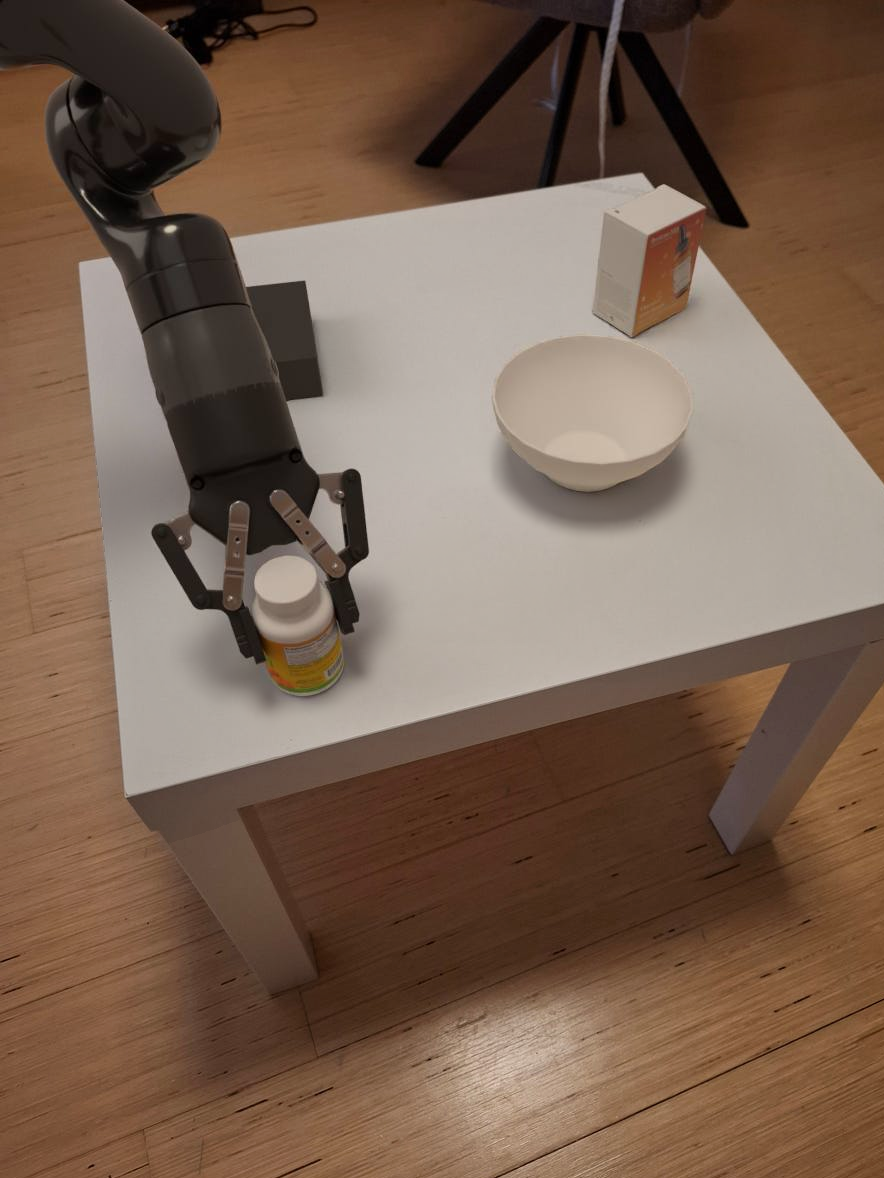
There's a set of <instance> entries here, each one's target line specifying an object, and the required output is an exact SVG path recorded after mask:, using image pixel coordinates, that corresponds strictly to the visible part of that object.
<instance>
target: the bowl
mask: <svg viewBox="0 0 884 1178" xmlns="http://www.w3.org/2000/svg"><path fill="white" fill-rule="evenodd" d="M491 401H492V407H493V408H492V409H493V412H494V416H495V421H496V424H497V426H498V429H499V430H500V432H501V434H502V436H503V437H504V439H505V440H506V442H507V443H508V444H509V446H510V447H511V449H512V450H513V451H514V453H516V454H517V456H519V457H520V458H521V459H522V460H524V461H525V462H526V463H527V464H528V465H530V466H531V467H532V468H533V469H535V470H536V471H538V472H540V473H542V474H544V475H546V477H547V478H548V479H549V480H551V481H552V482H553V483H554V484H556V485H559V486H561V487H563V488H565V489H567V490H568V489H569V490H572V491H576V492H584V493H585V492H587V493H591V492H601V491H603V490H606V489H610V488H613V487H614V486H616V485H617V484H620V483H622V482H625V481H627V480H631V479H634V478H637V477H638V476H641V475H644V474H645V473H646V472H648V471H650V470H651V469H653V468H655V467H656V466H659V464H660V463H662V462H664V460H666V458H667V457H668V456H669V455H670V454H671V453H672V452H673V451H674V450H675V448H676V447H677V446H678V445H679V444H680V442H681V441H682V440H683V439H684V437H685V435H686V432H687V430H688V427H689V424H690V422H691V419H692V416H693V414H694V412H695V411H694V393H693V391H692V389H691V387H690V384H689V382H688V380H687V377H686V376H685V375H684V374H683V373H682V372H681V370H679V368H678V367H677V366H676V365H675V364H674V363H673V362H672V361H670V360H669V359H667V358H666V357H664V356H663V355H662V354H660V353H659V352H657V351H656V350H654V349H651V348H650V347H646V346H644V345H642V344H640V343H638V342H635V341H632V340H628V339H623V338H619V337H615V336H611V335H602V334H600V335H598V334H586V333H582V334H572V335H562V336H557V337H553V338H549V339H545V340H542V341H538V342H536V343H533V344H532V345H530V346H527V347H526V348H523V349H522V350H520V351H518V352H517V353H515V354H514V355H513V356H512V357H510V359H509V360H508V361H506V362H505V363H504V364H503V365H502V367H501V368H500V370H499V371H498V373H497V375H496V377H495V379H494V380H493V387H492V392H491Z"/></svg>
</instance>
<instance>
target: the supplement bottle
mask: <svg viewBox="0 0 884 1178" xmlns="http://www.w3.org/2000/svg"><path fill="white" fill-rule="evenodd" d="M318 577H319V576H318V572H317V570H316V568H315V566H314V565H313V564H312V563H311V562H310V561H308V560H307V559H306V558H303V557H301V556H297V555H281V556H277V557H274V558H272V559H269V560H267V561H266V562H265V563H264V564H262V565H261V566H260V568H258V570H257V572H256V573H255V575H254V580H253V587H254V592H255V595H254V598H253V599H252V603H251V607H250V608H251V609H250V613H251V616H252V619H253V622H254V625H255V628H256V631H257V634H258V637H259V640H260V643H261V646H262V649H263V652H264V655H265V658H266V661H267V662H264V663H265V666H266V669H267V672H268V676H269V678H270V680H271V681H272V683H273V684H274V685H275V687H276V688H278V689H279V690H280V691H282V692H284V693H286V694H289V695H291V696H296V697H308V696H314V695H317V694H319V693H323V692H324V691H326V690H328V689H329V688H331V687H332V686H333V685H335V683H336V682H338V680H339V678H340V677H341V675H342V672H343V671H344V670H343V669H344V667H345V666H344V665H345V656H344V651H343V646H342V640H341V635H340V629H339V625H338V622H337V619H336V614H335V608H334V603H333V599H332V596H331V594H330V592H329V590H328V589H327V587H326V585H325V583H323V582H322V581H321V580H319V578H318Z"/></svg>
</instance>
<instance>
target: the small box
mask: <svg viewBox="0 0 884 1178" xmlns="http://www.w3.org/2000/svg"><path fill="white" fill-rule="evenodd" d="M706 214H707V207H706V206H705V205H704V204H702V203H700V202H698V201H696V200H695V199H692V198H691V197H689V196H688V195H685V194H684V193H681V192H680V191H678V190H676V189H674V188H672V187H671V186H669V185H667V184H663V183H662V184H661V185H658V186H657V187H656V188H654V189H652V190H650V191H647V192H646V193H643V194H641V195H639V196H637V197H634V198H633V199H630V200H628V201H626V202H624V203H622V204H619V205H616V206H615V207H612V208H609V209H606V210H604V211H603V219H602V225H601V226H602V227H601V234H600V235H601V236H600V245H599V253H598V263H597V270H596V271H597V272H596V277H595V279H596V280H595V288H594V296H593V305H592V313H593V314H595V315H596V316H598V317H599V318H601V319H602V320H604V321H605V322H607V323H609V324H610V325H612V326H613V327H615V328H617V329H618V330H619V331H621V332H623V333H625V334H626V335H627V336H629V337H630V338H633V337H635V336H637V335H638V334H640V333H642V332H643V331H645V330H647V329H649V328H650V327H652V326H654V325H656V324H658V323H660V322H662V321H664V320H666V319H668V318H670V317H671V316H674V315H676V314H677V313H680V312H682V311H684V310H685V309H686V308H687V305H688V301H689V297H690V291H691V287H692V281H693V278H694V277H693V276H694V271H695V267H696V261H697V256H698V252H699V248H700V243H701V242H700V241H701V237H702V233H703V229H704V222H705V218H706Z"/></svg>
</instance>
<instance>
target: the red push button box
mask: <svg viewBox="0 0 884 1178" xmlns="http://www.w3.org/2000/svg"><path fill="white" fill-rule="evenodd" d="M246 289H247V292H248V296H249V299H250V302H251V305H252V309H253V311H254V314H255V316H256V319H257V321H258V323H259V325H260V327H261V330H262V332H263V334H264V336H265V338H266V340H267V343H268V346H269V349H270V352H271V355H272V358H273V360H274V361H275V363H276V365H277V368H278V371H279V380H280V383H281V386H282V389H283V392H284V396H285V399H286V401H291V400H299V399H306V398H307V399H308V398H314V397H323V396H324V391H323V385H322V379H321V377H322V376H321V371H320V366H319V365H320V364H319V359H318V352H317V345H316V338H315V332H314V325H313V318H312V312H311V307H310V301H309V293H308V289H307V281H306V279H305V280H297V281H296V280H295V281H287V282H278V283H269V284H268V283H267V284H260V285H258V284H257V285H251V286H250V285H249V286H246Z"/></svg>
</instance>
